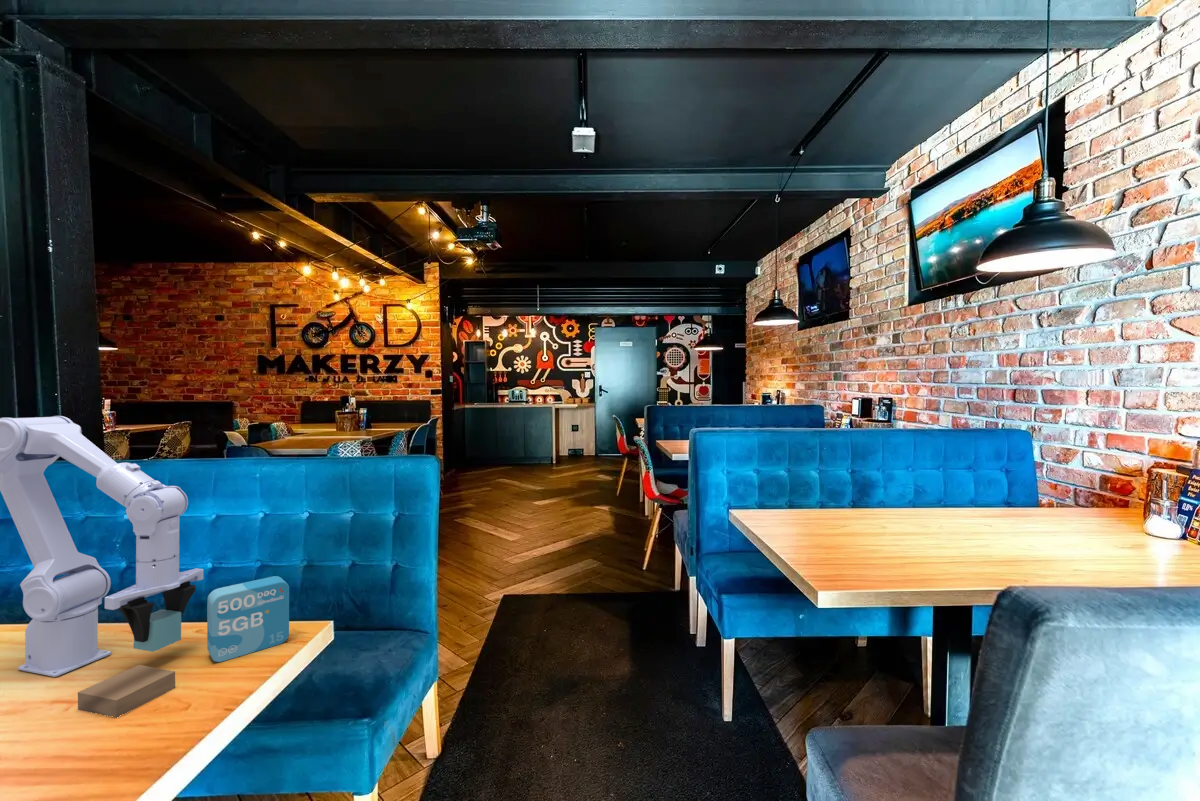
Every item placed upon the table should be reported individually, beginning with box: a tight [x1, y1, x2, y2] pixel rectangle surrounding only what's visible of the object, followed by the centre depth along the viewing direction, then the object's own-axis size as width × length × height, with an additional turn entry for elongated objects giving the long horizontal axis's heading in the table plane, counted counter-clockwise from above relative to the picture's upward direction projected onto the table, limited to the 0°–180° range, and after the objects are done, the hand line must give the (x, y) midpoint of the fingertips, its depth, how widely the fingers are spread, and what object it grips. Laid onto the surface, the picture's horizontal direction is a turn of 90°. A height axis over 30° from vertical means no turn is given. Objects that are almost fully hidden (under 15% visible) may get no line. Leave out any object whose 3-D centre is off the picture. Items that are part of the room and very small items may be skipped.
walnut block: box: [77, 664, 176, 719], centre depth 78 cm, size 8×8×3 cm
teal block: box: [133, 608, 182, 653], centre depth 88 cm, size 4×4×5 cm
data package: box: [206, 575, 290, 663], centre depth 94 cm, size 12×4×12 cm, turn 136°
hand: (157, 634), depth 88 cm, fingers closed on teal block, 4 cm apart
